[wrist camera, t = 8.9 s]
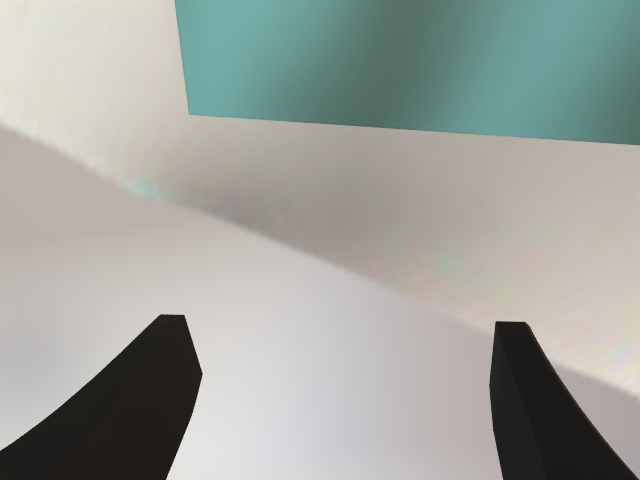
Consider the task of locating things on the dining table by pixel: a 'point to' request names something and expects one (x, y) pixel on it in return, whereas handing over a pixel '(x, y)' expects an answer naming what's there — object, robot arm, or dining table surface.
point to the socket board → (420, 64)
